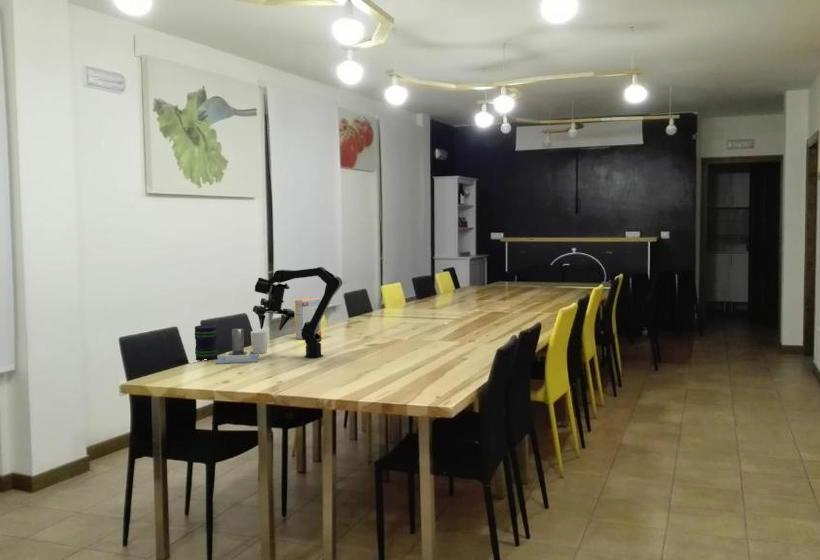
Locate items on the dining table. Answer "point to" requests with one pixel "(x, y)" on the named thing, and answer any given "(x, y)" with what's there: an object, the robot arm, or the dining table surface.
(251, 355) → the blue square board
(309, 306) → the cracker box
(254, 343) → the white cup
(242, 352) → the shaft
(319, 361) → the dining table surface
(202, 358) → the storage jar
